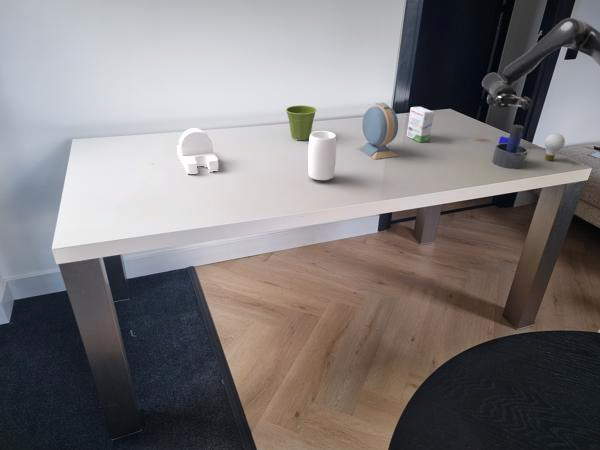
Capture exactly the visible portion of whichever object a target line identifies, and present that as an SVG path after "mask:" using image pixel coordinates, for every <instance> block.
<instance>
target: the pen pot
mask: <svg viewBox="0 0 600 450" xmlns="http://www.w3.org/2000/svg"><path fill="white" fill-rule="evenodd" d="M507 144H508V143H501V144H499V143H497V144H495V147H494V151H493V155H492V158H491V162H492V164H494V165H495V166H498V167H500V168H504V169H509V170H518V169H522V168H524V165H525V163H526V160H527V155H528V153H529V150H528V149H527V148H526V147H525V146H523V145H520V144H519V145H518V147H517V150H516V153H512V152H507V151H506V148H507Z"/></svg>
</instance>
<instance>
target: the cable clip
mask: <svg viewBox="0 0 600 450" xmlns="http://www.w3.org/2000/svg"><path fill="white" fill-rule="evenodd" d="M523 134H524V133H523V132H522V134H521V136H520V140H519V143H518V145H520V144H521V140H522V136H523ZM509 137H510V136H508V137H506V136H503V135H502V136H500V137H499V140H498V144H501V143H508V141H509Z"/></svg>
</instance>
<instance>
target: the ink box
mask: <svg viewBox="0 0 600 450" xmlns="http://www.w3.org/2000/svg"><path fill="white" fill-rule="evenodd" d="M434 114H435V111H433V110H430V109H428V108H425V107H422V106H412V107H410V110H409V117H408V124H407V129H406V130H407V131H406V137H407V138H409V139H412V140H414V141H416V142H418V143H425V142H429V141H430V138H431V133H432V132H431V131H432V127H433V126H432V125H433V120H434V116H435V115H434Z"/></svg>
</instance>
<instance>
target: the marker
mask: <svg viewBox="0 0 600 450" xmlns="http://www.w3.org/2000/svg"><path fill="white" fill-rule="evenodd" d="M523 130H524V126H523V125H521V124H512V125H511V129H510V132H509V136H508V137H509V141H508V144H507V148H506V151H507V152H512V153H516V150H517V147H518V143H519V140H520V136H521V134H522V133H523ZM522 135H523V134H522Z"/></svg>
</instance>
